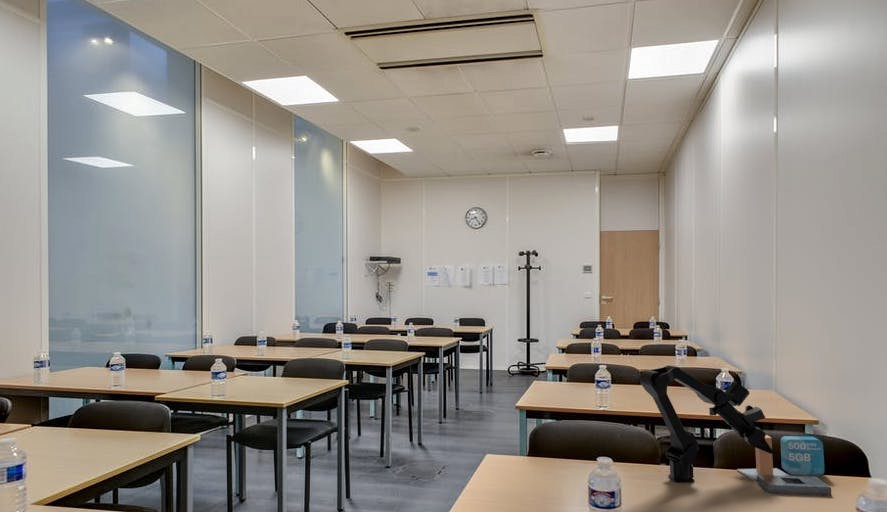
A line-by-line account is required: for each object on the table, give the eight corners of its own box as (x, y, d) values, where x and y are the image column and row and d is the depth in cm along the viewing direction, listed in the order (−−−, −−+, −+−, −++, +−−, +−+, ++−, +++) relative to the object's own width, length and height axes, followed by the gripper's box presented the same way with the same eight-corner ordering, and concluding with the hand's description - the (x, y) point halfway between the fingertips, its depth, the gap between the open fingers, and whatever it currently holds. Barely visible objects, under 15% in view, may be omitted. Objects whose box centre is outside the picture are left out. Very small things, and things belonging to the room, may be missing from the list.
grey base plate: (768, 493, 183) (767, 484, 183) (757, 482, 193) (756, 474, 193) (831, 495, 180) (831, 487, 180) (817, 484, 189) (816, 476, 190)
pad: (752, 480, 195) (752, 478, 195) (737, 470, 205) (737, 469, 205) (793, 479, 195) (793, 477, 195) (776, 469, 205) (776, 468, 205)
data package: (786, 474, 200) (785, 439, 201) (781, 470, 205) (779, 435, 205) (825, 475, 198) (823, 440, 199) (818, 471, 203) (816, 436, 203)
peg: (760, 474, 199) (758, 437, 199) (756, 471, 202) (754, 434, 203) (773, 475, 198) (771, 437, 199) (768, 471, 202) (767, 434, 202)
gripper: (757, 405, 193) (795, 439, 190) (739, 394, 211) (774, 426, 209) (733, 428, 194) (770, 463, 191) (717, 416, 212) (751, 447, 210)
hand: (767, 448), depth 200 cm, fingers open, 9 cm apart
